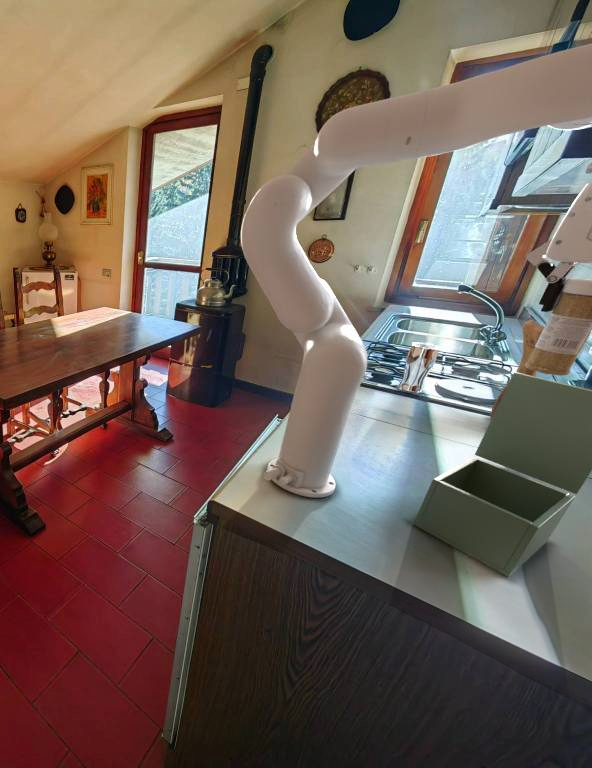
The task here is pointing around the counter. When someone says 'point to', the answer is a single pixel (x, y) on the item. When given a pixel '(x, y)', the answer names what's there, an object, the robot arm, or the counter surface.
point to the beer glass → (418, 366)
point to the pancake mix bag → (524, 354)
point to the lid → (542, 431)
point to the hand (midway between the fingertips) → (575, 313)
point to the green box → (492, 513)
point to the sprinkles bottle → (564, 330)
